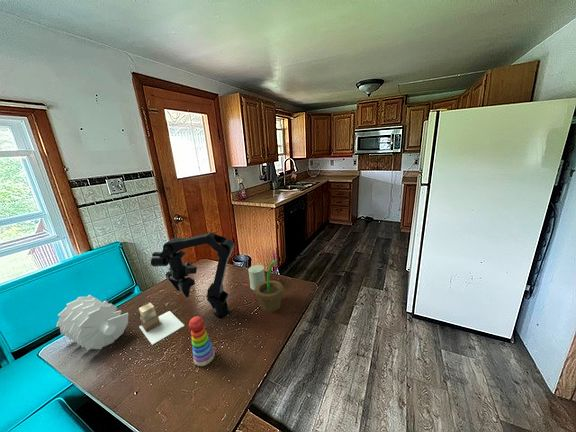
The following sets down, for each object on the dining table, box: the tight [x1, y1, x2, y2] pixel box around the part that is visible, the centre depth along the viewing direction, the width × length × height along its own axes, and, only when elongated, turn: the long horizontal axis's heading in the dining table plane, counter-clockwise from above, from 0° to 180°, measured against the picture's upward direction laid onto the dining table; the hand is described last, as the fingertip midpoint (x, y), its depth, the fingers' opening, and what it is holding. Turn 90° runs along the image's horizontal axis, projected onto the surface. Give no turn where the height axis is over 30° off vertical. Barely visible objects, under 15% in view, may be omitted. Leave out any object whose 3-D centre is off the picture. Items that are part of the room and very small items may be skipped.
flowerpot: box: [254, 250, 284, 313], centre depth 113 cm, size 14×14×30 cm
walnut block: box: [139, 313, 160, 332], centre depth 108 cm, size 6×6×5 cm
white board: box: [138, 310, 185, 346], centre depth 108 cm, size 17×14×1 cm
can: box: [248, 264, 266, 291], centre depth 134 cm, size 9×9×12 cm
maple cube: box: [138, 302, 157, 322], centre depth 106 cm, size 5×5×5 cm
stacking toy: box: [188, 315, 216, 367], centre depth 87 cm, size 8×8×19 cm
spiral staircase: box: [55, 294, 130, 351], centre depth 101 cm, size 18×18×25 cm
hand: (183, 293), depth 112 cm, fingers open, 9 cm apart
